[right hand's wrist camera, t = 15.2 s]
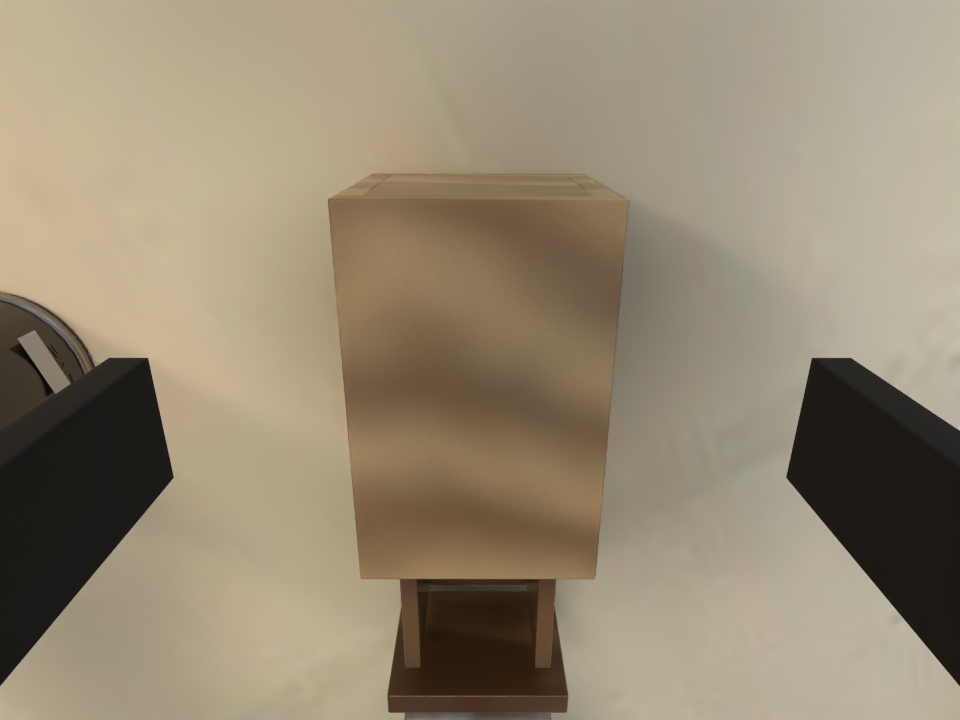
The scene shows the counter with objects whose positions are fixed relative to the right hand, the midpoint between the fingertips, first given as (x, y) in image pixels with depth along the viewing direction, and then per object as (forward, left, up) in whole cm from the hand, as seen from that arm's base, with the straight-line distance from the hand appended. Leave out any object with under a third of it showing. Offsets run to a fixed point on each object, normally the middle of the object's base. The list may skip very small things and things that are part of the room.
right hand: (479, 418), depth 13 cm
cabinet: (+2, -5, -20) cm, 21 cm away
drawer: (+9, -16, -19) cm, 26 cm away
